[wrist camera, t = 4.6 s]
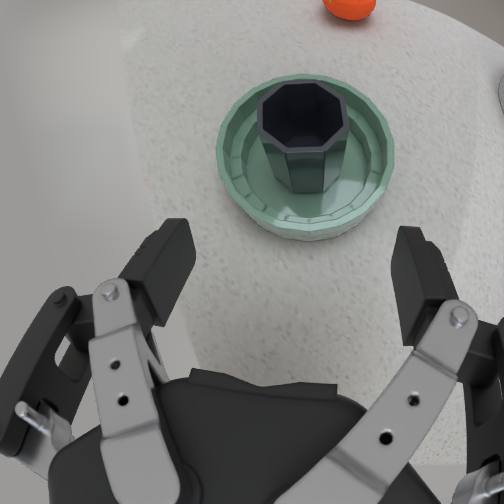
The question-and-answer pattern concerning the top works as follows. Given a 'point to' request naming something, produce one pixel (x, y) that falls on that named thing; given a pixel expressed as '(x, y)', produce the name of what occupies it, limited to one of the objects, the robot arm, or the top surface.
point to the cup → (303, 133)
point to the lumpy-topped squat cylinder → (501, 92)
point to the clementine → (350, 8)
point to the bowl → (306, 205)
